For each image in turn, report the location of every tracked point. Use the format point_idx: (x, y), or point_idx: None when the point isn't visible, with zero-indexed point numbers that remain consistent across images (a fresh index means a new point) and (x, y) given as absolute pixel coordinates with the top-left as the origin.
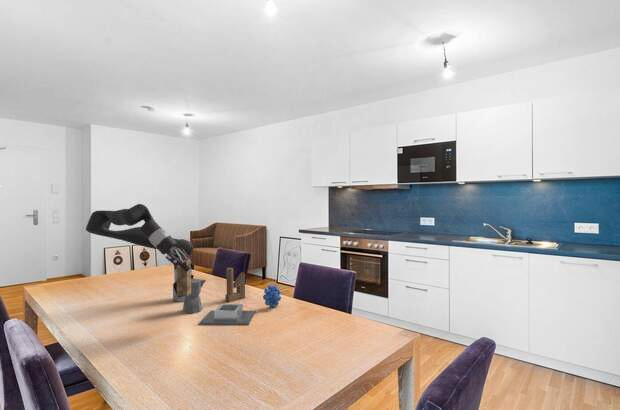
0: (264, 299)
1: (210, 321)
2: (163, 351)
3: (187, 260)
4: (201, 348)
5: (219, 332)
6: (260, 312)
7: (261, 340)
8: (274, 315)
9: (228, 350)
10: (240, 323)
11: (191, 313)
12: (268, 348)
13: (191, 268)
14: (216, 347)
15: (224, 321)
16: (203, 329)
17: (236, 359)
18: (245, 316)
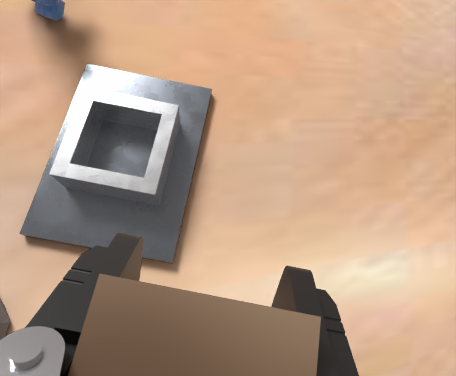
0: (56, 4)
1: (171, 218)
2: (409, 348)
3: (209, 327)
4: (386, 223)
5: (264, 181)
6: (93, 53)
7: (336, 67)
8: (139, 17)
9: (398, 147)
10: (205, 115)
11: (6, 328)
12: (385, 56)
13: (137, 276)
14: (379, 180)
15: (183, 166)
16: (228, 240)
17: (447, 127)
18: (146, 97)
